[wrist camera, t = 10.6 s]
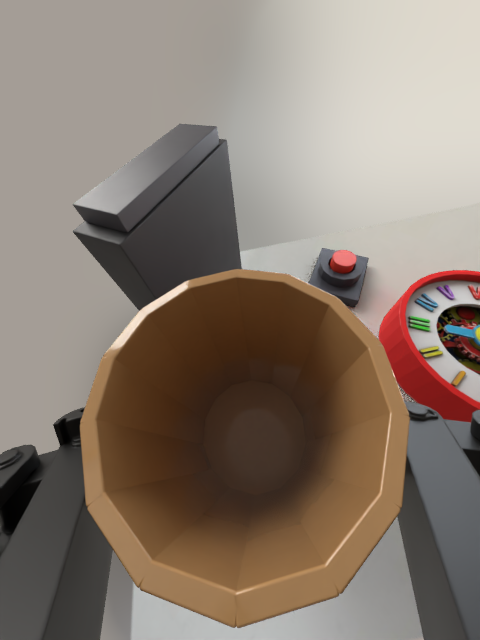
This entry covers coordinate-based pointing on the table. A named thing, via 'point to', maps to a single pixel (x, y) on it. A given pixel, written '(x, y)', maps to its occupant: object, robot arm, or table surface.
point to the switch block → (339, 278)
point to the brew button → (343, 261)
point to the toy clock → (437, 342)
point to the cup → (244, 446)
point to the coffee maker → (164, 215)
